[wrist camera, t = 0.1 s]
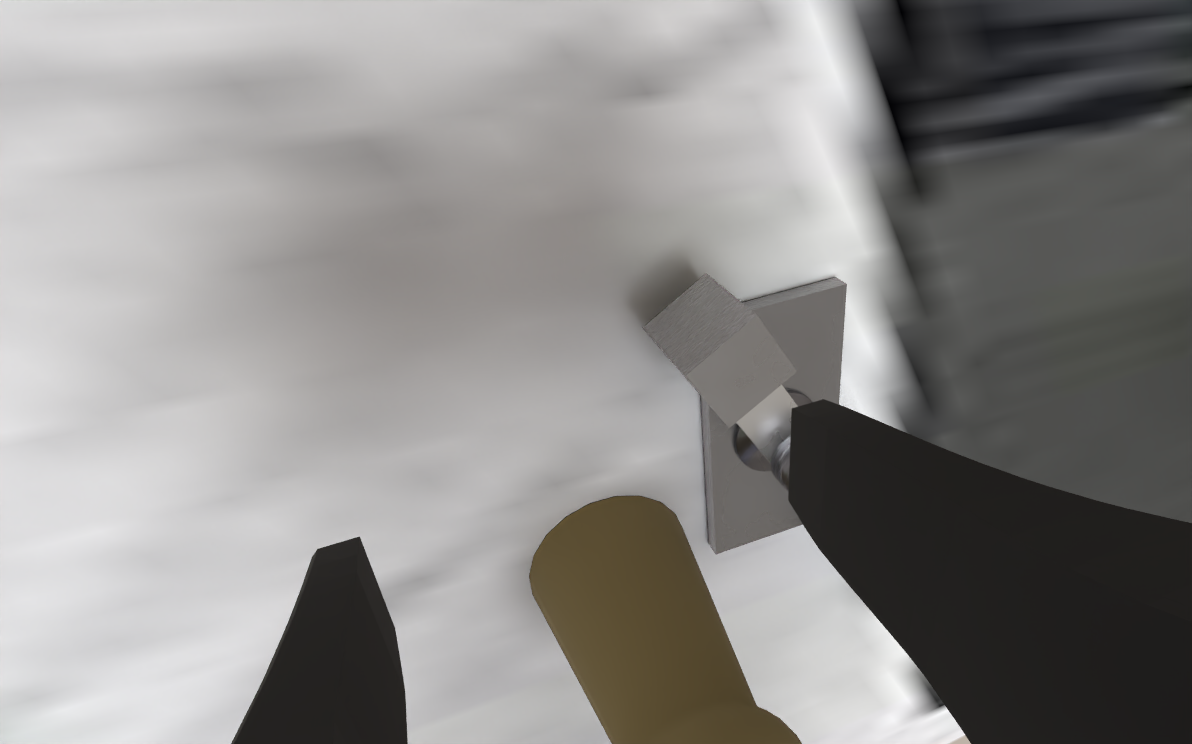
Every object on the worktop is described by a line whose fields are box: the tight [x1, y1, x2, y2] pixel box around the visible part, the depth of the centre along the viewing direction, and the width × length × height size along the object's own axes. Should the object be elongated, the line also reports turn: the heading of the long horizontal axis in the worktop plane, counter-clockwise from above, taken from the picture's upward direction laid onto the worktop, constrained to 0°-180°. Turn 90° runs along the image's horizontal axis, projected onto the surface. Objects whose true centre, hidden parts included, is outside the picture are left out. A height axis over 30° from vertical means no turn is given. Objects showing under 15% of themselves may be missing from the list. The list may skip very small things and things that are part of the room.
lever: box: [643, 274, 798, 493], centre depth 24 cm, size 21×3×6 cm, turn 37°
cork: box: [529, 496, 802, 744], centre depth 22 cm, size 6×6×11 cm
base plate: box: [701, 277, 847, 554], centre depth 25 cm, size 10×5×1 cm, turn 7°
